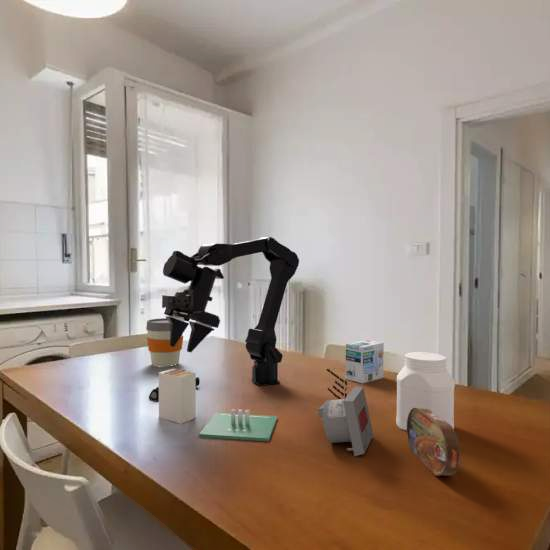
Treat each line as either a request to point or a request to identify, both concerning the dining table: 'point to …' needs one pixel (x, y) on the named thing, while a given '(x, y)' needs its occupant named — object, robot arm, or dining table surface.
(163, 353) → the reusable coffee cup
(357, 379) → the light bulb box
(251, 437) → the header board
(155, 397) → the electric trimmer
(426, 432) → the tin
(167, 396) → the plug block
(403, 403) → the jar
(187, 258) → the robot arm
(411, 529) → the dining table surface
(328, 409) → the voltmeter
